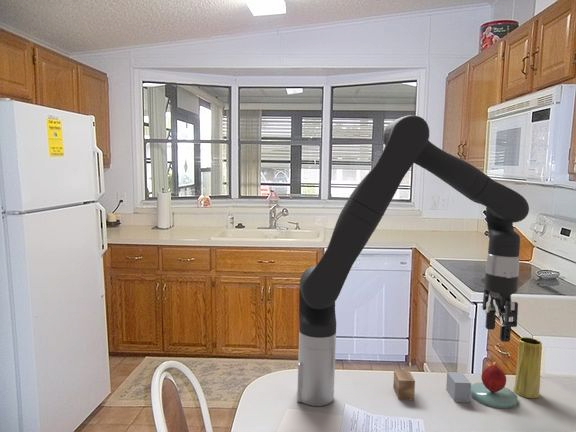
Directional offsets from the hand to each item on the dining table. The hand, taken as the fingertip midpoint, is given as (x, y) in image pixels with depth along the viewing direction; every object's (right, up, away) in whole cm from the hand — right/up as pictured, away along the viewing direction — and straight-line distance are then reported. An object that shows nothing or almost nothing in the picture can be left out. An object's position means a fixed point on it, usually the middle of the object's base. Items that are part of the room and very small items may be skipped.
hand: (497, 334), depth 111 cm
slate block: (-9, -16, +2) cm, 19 cm away
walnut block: (-23, -16, +2) cm, 28 cm away
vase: (+10, -17, +4) cm, 20 cm away
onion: (0, -16, +1) cm, 16 cm away
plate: (0, -17, +1) cm, 17 cm away
